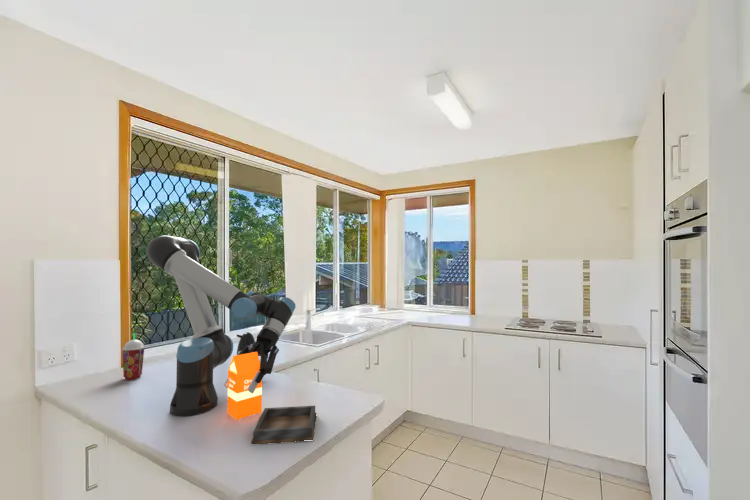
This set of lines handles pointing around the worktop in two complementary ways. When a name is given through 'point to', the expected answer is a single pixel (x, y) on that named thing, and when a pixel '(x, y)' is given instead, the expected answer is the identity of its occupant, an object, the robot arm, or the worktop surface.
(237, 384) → the orange juice
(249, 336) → the pump dispenser
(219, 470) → the worktop surface
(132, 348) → the smoothie
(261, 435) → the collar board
